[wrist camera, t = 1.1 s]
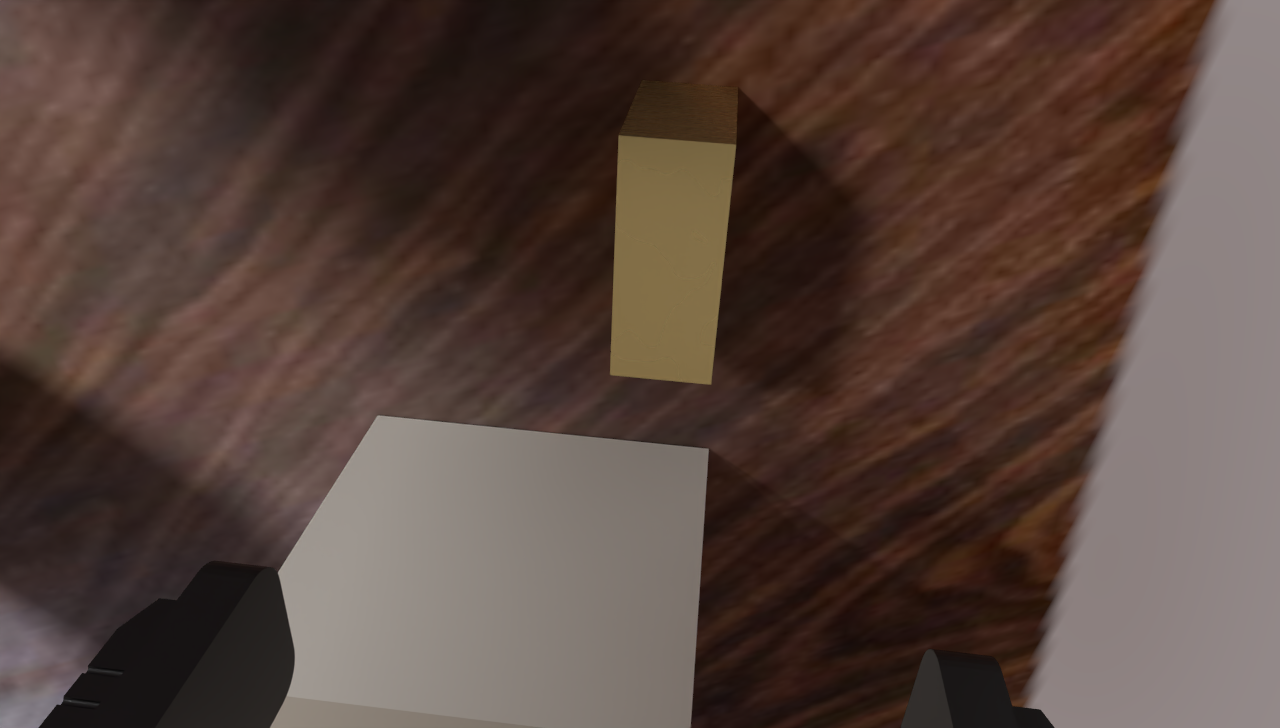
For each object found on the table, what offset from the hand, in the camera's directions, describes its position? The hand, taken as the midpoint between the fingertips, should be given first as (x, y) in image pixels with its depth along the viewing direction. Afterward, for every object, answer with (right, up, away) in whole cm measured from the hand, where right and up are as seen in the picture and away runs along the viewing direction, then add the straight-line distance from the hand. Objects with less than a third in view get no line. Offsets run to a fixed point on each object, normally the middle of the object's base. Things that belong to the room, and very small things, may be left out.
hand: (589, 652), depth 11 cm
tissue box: (-3, -4, +21) cm, 22 cm away
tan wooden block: (+2, +8, +14) cm, 16 cm away
